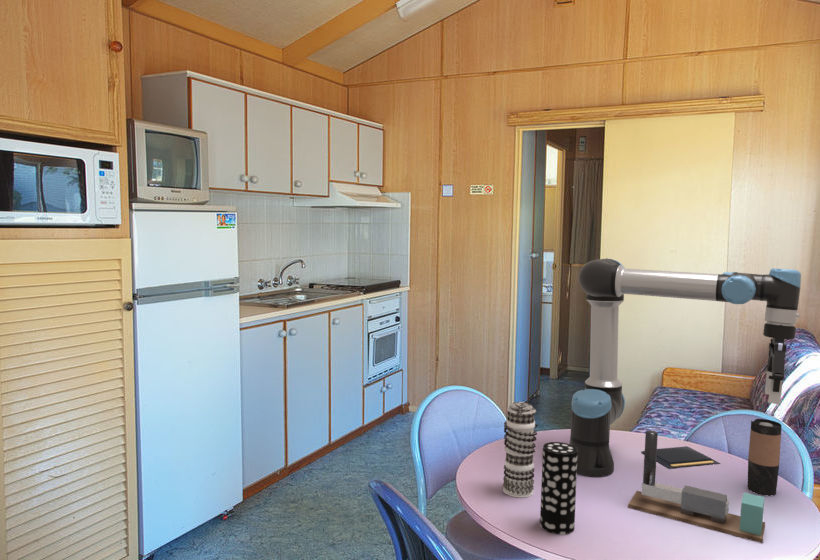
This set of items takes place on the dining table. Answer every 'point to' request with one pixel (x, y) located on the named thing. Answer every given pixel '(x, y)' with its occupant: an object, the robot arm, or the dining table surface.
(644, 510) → the base board
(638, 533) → the dining table surface
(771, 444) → the travel mug
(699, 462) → the black book
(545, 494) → the white-spotted black cylinder
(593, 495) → the dining table surface
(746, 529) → the socket
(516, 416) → the decorative candle
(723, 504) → the grey notched block
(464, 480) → the dining table surface
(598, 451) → the robot arm
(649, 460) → the grey two-tone fixture
